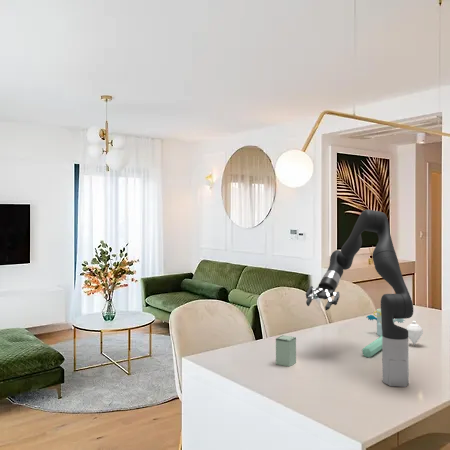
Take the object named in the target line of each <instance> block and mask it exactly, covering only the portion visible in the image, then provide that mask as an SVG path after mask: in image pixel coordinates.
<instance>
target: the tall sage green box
mask: <svg viewBox="0 0 450 450" xmlns="http://www.w3.org/2000/svg"><path fill="white" fill-rule="evenodd" d="M296 364H297V338H296V336H290V335H283V334H282V335H280V336H278V337H276V338H275V365H277V366H284V367H292V366H293V365H296Z"/></svg>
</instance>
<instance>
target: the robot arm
mask: <svg viewBox="0 0 450 450" xmlns="http://www.w3.org/2000/svg"><path fill="white" fill-rule="evenodd" d="M388 219H389V218H388V217H387V214H386V213H385V212H382V211H378V210H373V209H364V210H363V211H362V212H360V214H359V216H358V217H357V220H356V222H355V224H354V226H353V228H352V231H351V232H350V235H349V237H348V238H347V240H346V241H345V242H344V244H343V245H342V246H341V249H340V250H339V249H336V250H334V251H333V252H332V253H331V254H330V258H329V266H328V268H327V270H326V272H325V273H324V274H323V277H322V278H321V280H320V282H319V284H318V286H317V287H316V288H315V287H313V286H312V285H311V286H309V288H308V289H307V291H306V292H305V297H306V301H305V303H306V306H307V307H309V306H310V305H311V303H312V301H314V300H317V299H319V300H320V299H323V300H327V301H326V302H327V303H326V305H325V307H324V309H325V311H328V310H330V309H331V307H332V305H334V306H337V305H338V302H339V300H340V292H339V291H336V289H337V287H338V285H339V284H340V280H341V278H342V276H343V274H344V271H346V270H350V268H351V267H352V265H353V261H354V258H355V256H356V255H357V254H358V252H359V251H360V249H361V247H362V244H363V239H362V233H363V232H365V231H366V232H371V233H372V232H373V233H376V236H378V237H377V238H378V241H377V243H376V245H375V247H374V249H373V251H372V255H371V256H372V261H373V265H374V268H375V271H376V273H377V274H378V275H379V276H380V277H381V278H382V279H383V280H384V281H385V282H386V283H388V285H390V286H391V288H392V289H393V290H394V293H384V294H382V296H381V299H380V309H381V319H382V349H381V351H382V353H381V354H382V359H381V360H382V382H383V383H384V384H385V385H388V386H389V387H405V388H407V386H408V385H409V382H410V381H409V378H410V377H409V375H410V374H409V371H410V369H409V337H408V330H407V329H406V328H405V327H403V326H399V325H396V324H395V322H394V323H393V319H394V320H395V319H404V320H406V319H411V317H413V315H414V305H413V304H414V302H413V301H412V300H413V299H412V298H411V295H410V292H409V290H408V287H407V285H406V283H405V280H404V277H403V274H402V271H401V268H400V263H399V260H398V257H397V253H396V251H395V247H394V244H393V240H392V236H391V230H390V224H389V220H388ZM335 291H336V292H335ZM333 296H334V297H333ZM332 297H333V299H332Z"/></svg>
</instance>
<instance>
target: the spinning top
mask: <svg viewBox="0 0 450 450" xmlns="http://www.w3.org/2000/svg"><path fill="white" fill-rule="evenodd" d="M405 329H407V330H408V340H410V341H411V343H412V344H413V346H414V347H415V346H416V344H417V342H419V340H420V339H421V337H422V336H423V333H424V331H423V328H422V326H420V324H418V323H417V321H416V320H411V323H409V324H408V325H407V326H406V328H405Z"/></svg>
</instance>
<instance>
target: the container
mask: <svg viewBox="0 0 450 450" xmlns="http://www.w3.org/2000/svg"><path fill="white" fill-rule="evenodd" d="M380 351H382V335H381V336H378V338H377V339H375V340H374V341H372V342H370V343H369V344H368V345H366V346H364V347H363V348H362V355H363V356H364V357H365V358H371V357H373V356H374V355H375V354H377V353H378V352H380Z"/></svg>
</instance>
